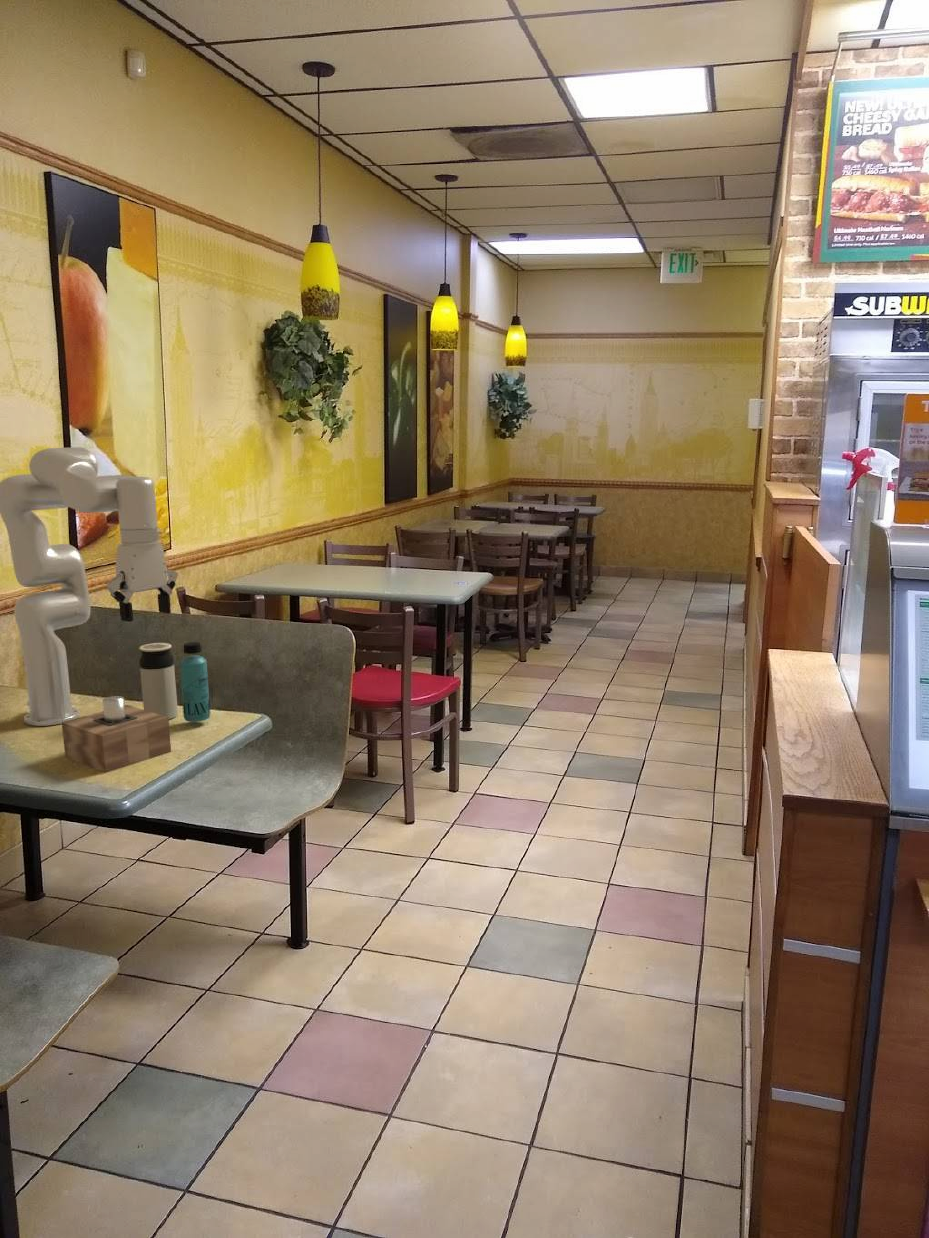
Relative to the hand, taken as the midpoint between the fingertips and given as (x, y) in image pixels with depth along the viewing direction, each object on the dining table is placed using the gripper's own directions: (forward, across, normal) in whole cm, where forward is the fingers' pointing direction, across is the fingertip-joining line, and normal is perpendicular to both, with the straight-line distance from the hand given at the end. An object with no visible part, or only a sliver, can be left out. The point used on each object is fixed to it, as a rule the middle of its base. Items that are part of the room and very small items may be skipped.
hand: (146, 616), depth 209 cm
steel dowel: (+26, +4, -8) cm, 28 cm away
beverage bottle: (+31, -20, -10) cm, 39 cm away
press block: (+31, +4, -8) cm, 32 cm away
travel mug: (+31, -19, -22) cm, 43 cm away
